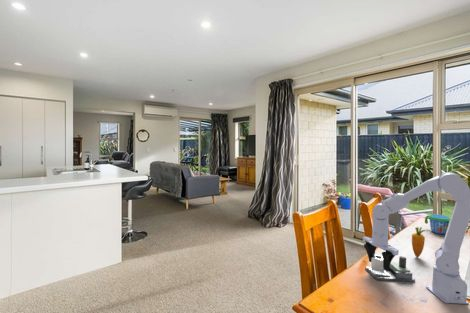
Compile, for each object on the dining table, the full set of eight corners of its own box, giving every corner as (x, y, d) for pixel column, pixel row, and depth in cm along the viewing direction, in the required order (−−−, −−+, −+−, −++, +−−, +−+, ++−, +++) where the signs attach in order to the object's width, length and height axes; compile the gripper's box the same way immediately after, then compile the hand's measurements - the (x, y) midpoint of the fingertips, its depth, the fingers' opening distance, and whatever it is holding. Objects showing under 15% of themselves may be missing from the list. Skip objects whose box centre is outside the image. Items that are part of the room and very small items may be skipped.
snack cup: (419, 228, 161) (420, 213, 160) (432, 227, 163) (433, 212, 162) (444, 237, 145) (446, 220, 145) (458, 236, 148) (459, 219, 147)
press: (415, 282, 98) (415, 273, 97) (375, 280, 98) (376, 272, 98) (400, 270, 107) (401, 262, 107) (365, 268, 108) (365, 261, 107)
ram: (410, 275, 99) (410, 261, 99) (397, 274, 99) (398, 260, 99) (400, 267, 105) (401, 254, 105) (389, 267, 105) (390, 254, 105)
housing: (383, 272, 100) (384, 260, 99) (371, 269, 102) (371, 257, 102) (385, 268, 103) (385, 256, 103) (372, 265, 106) (373, 253, 106)
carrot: (418, 255, 122) (419, 225, 121) (426, 259, 117) (428, 228, 116) (408, 255, 122) (409, 225, 121) (415, 259, 117) (417, 228, 116)
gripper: (404, 237, 97) (402, 271, 97) (371, 226, 110) (370, 255, 111) (392, 240, 94) (390, 275, 95) (359, 227, 107) (358, 258, 108)
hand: (378, 264), depth 103 cm, fingers closed on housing, 6 cm apart
